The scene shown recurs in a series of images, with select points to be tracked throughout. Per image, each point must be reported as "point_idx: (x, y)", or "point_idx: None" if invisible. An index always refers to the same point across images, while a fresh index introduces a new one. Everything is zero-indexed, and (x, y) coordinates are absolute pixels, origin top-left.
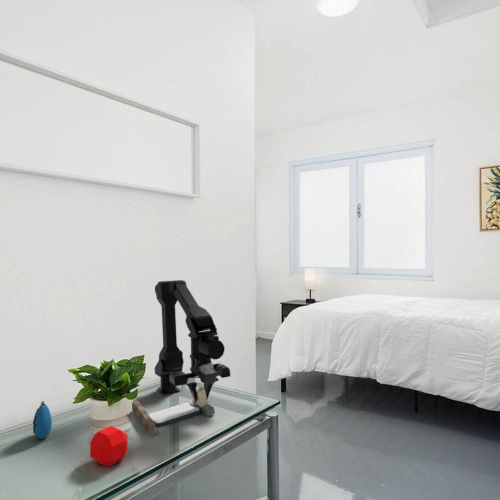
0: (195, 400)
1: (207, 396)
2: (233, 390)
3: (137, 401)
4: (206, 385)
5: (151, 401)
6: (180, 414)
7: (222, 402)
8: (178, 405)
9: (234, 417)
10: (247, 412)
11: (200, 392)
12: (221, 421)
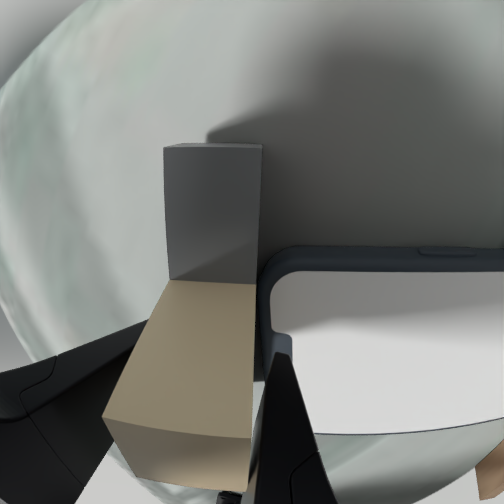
0: (291, 370)
1: (129, 334)
2: (31, 356)
3: (488, 496)
4: (60, 443)
5: (373, 498)
6: (475, 299)
7: (77, 302)
8: (357, 428)
9: (103, 36)
10: (28, 85)
11: (199, 414)
12: (214, 3)
